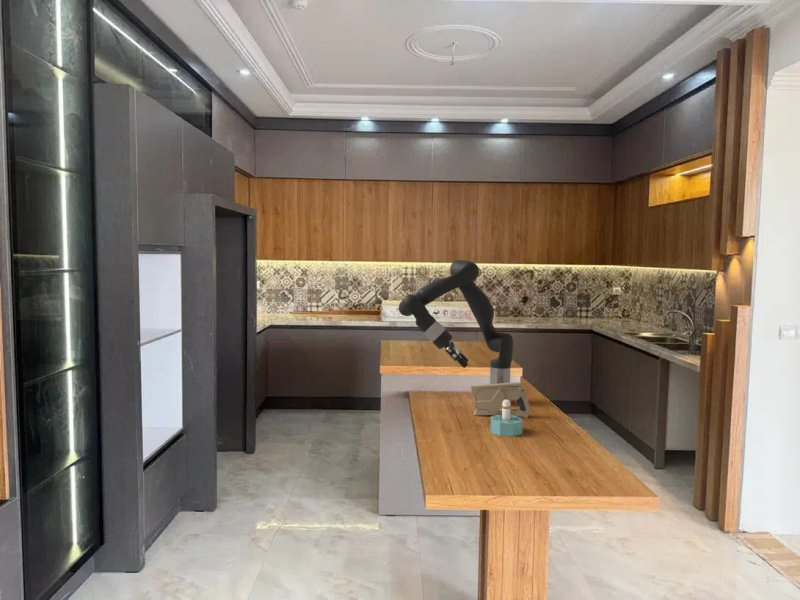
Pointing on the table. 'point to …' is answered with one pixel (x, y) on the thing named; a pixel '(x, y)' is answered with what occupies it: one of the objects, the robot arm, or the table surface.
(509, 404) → the striped domed peg
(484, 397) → the gun
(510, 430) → the bead
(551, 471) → the table surface
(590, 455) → the table surface
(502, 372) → the robot arm
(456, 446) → the table surface
